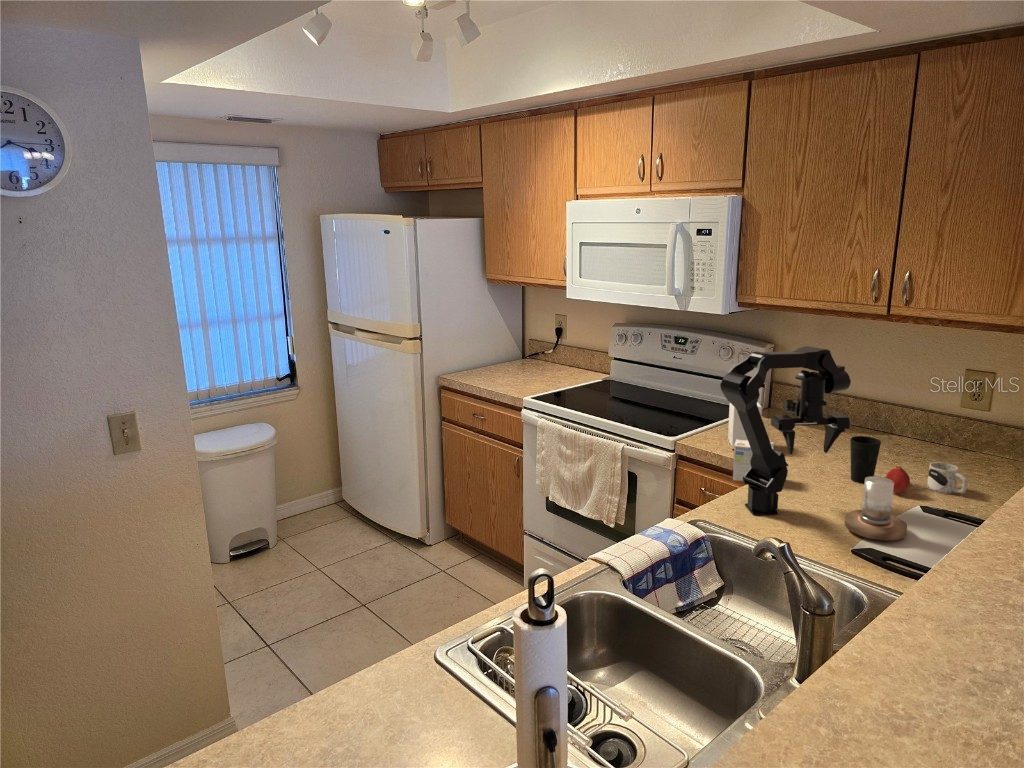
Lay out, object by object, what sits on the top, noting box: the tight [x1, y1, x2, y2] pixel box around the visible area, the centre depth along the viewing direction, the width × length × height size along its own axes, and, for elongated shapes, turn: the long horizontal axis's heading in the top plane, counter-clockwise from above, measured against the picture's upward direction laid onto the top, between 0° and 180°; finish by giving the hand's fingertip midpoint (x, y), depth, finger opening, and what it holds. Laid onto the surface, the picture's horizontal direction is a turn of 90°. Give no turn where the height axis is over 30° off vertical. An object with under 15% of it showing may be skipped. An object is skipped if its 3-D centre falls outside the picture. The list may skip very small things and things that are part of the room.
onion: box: [884, 464, 911, 494], centre depth 180 cm, size 6×6×8 cm
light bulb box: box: [732, 439, 775, 483], centre depth 193 cm, size 11×7×11 cm, turn 68°
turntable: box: [844, 509, 908, 541], centre depth 159 cm, size 13×13×3 cm
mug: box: [926, 461, 968, 495], centre depth 181 cm, size 10×7×7 cm, turn 21°
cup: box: [849, 435, 882, 485], centre depth 190 cm, size 8×8×12 cm
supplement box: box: [727, 401, 763, 446], centre depth 221 cm, size 9×9×15 cm
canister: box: [860, 475, 894, 527], centre depth 157 cm, size 6×6×10 cm
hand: (807, 453), depth 176 cm, fingers open, 9 cm apart
